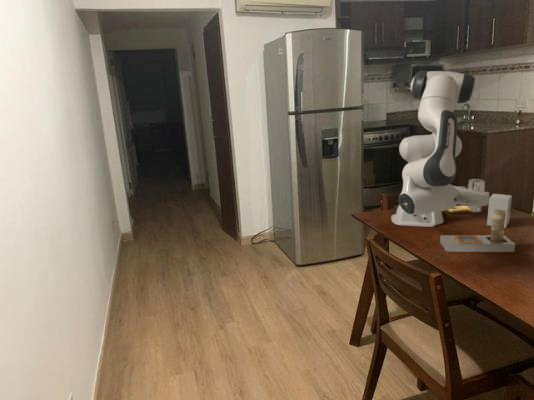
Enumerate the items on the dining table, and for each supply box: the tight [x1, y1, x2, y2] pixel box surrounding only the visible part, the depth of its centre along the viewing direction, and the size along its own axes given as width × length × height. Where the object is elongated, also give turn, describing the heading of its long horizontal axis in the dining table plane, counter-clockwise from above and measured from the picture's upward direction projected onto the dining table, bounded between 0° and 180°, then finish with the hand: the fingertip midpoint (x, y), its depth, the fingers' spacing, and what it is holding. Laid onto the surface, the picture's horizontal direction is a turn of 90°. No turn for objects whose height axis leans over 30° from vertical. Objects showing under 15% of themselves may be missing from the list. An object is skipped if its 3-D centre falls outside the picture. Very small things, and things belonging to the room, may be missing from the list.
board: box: [439, 234, 516, 253], centre depth 146 cm, size 23×9×3 cm, turn 81°
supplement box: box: [486, 193, 513, 229], centre depth 167 cm, size 7×7×13 cm
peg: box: [490, 210, 506, 243], centre depth 144 cm, size 4×4×14 cm
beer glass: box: [467, 178, 486, 214], centre depth 186 cm, size 7×7×15 cm
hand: (475, 191), depth 136 cm, fingers open, 8 cm apart
